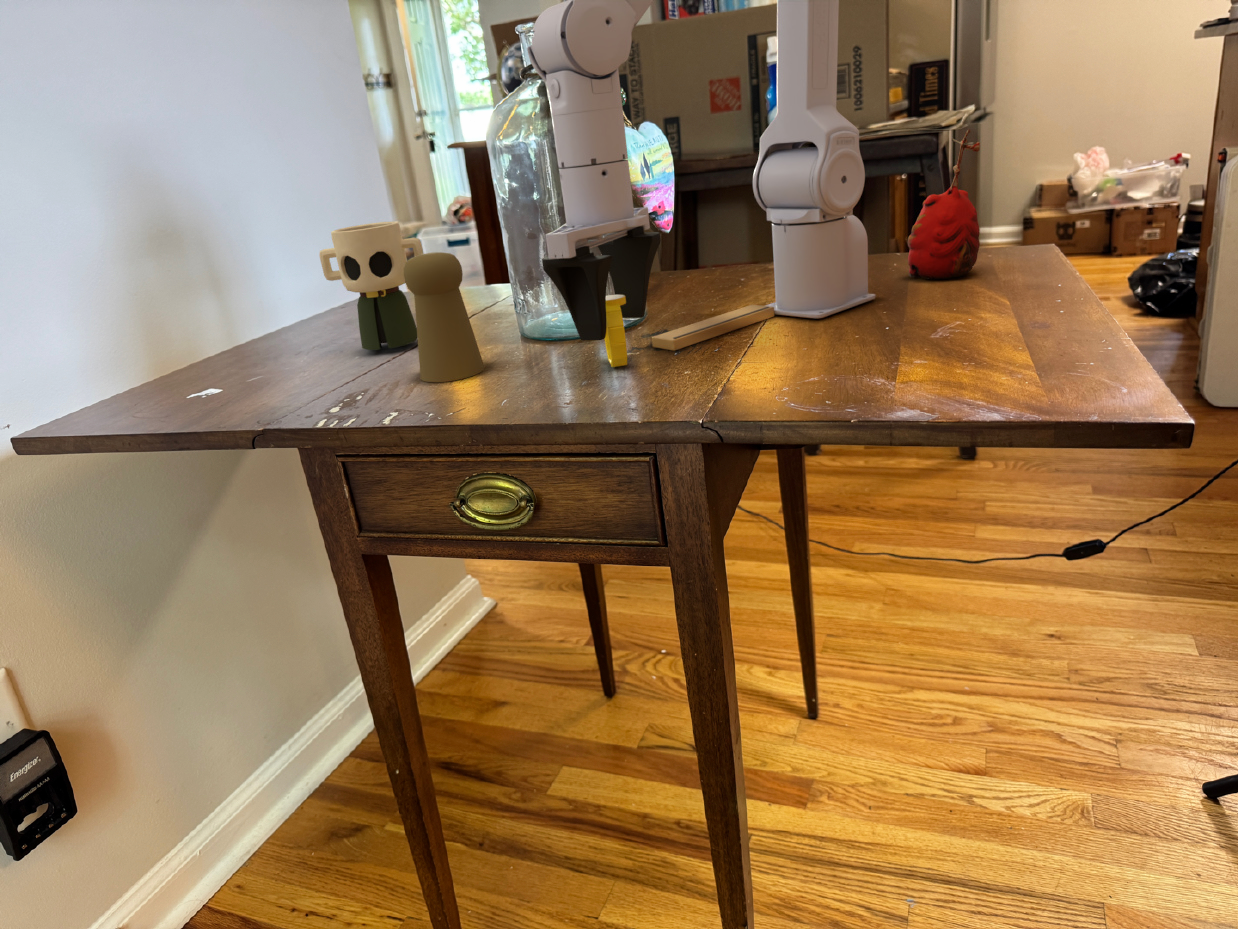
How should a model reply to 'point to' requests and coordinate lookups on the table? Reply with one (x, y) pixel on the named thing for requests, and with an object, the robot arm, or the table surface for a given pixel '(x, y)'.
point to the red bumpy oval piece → (945, 231)
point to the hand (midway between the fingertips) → (613, 327)
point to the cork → (442, 319)
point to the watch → (615, 331)
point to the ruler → (712, 327)
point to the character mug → (375, 280)
